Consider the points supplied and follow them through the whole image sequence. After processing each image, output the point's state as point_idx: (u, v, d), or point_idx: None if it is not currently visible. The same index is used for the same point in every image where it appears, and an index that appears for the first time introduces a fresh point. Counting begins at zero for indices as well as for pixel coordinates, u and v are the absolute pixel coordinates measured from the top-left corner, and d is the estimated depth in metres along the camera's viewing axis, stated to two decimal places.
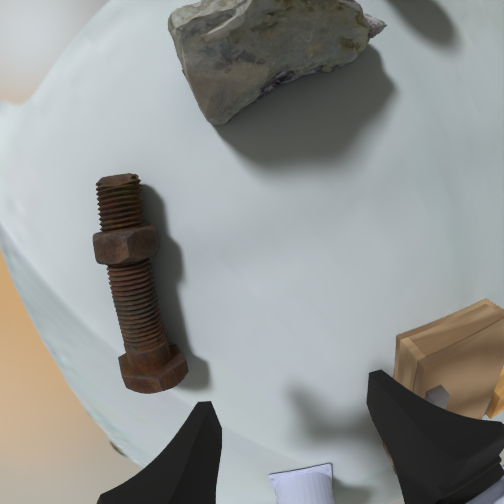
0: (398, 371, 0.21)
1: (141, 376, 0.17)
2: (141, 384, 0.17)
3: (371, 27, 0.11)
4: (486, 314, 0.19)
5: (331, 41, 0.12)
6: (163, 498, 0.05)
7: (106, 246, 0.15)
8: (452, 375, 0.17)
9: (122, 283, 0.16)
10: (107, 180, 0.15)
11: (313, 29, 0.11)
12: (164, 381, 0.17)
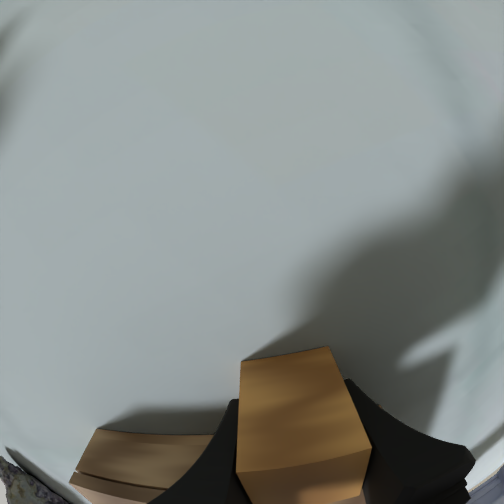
0: None
1: None
2: None
3: (8, 488, 0.12)
4: None
5: (26, 500, 0.13)
6: (217, 501, 0.05)
7: None
8: None
9: None
10: None
11: None
12: None
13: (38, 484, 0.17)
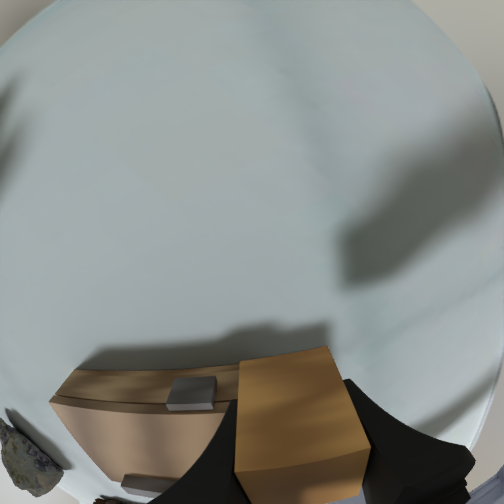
0: None
1: None
2: None
3: (3, 444, 0.19)
4: None
5: (18, 456, 0.20)
6: (217, 501, 0.05)
7: None
8: (115, 467, 0.17)
9: None
10: None
11: (18, 464, 0.19)
12: None
13: (30, 443, 0.24)
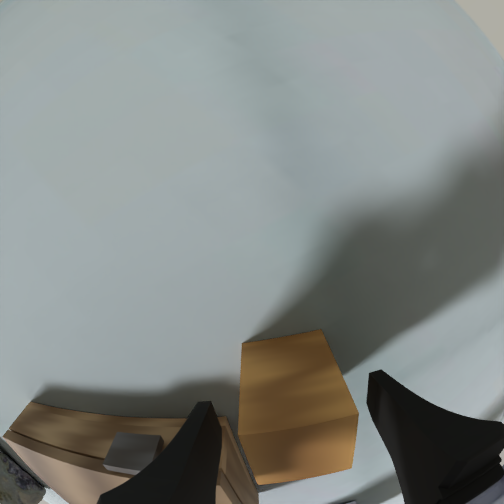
0: None
1: None
2: None
3: None
4: None
5: None
6: (163, 498, 0.05)
7: None
8: (78, 502, 0.12)
9: None
10: None
11: (0, 482, 0.14)
12: None
13: (11, 462, 0.19)
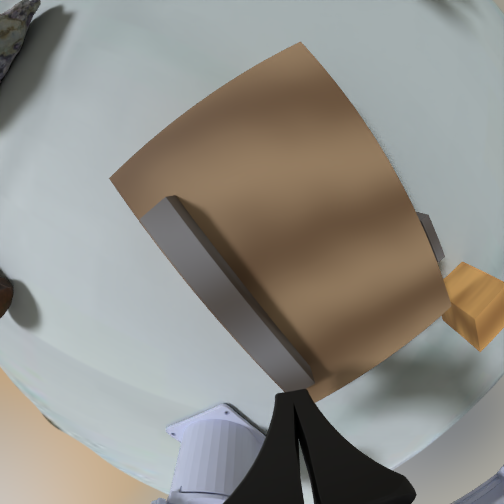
0: None
1: None
2: None
3: (6, 15, 0.08)
4: None
5: None
6: (295, 496, 0.05)
7: None
8: (189, 172, 0.13)
9: None
10: None
11: None
12: None
13: (13, 57, 0.13)
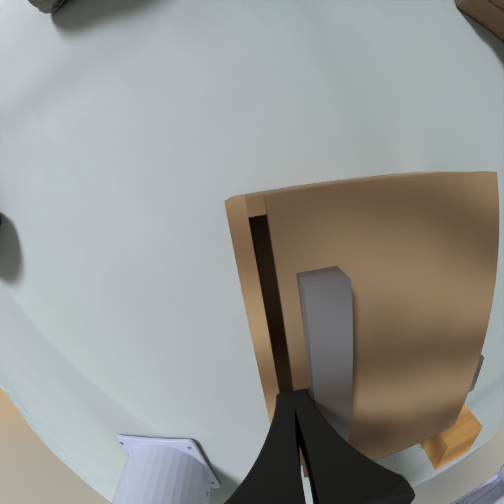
0: None
1: None
2: None
3: None
4: (418, 173, 0.12)
5: None
6: (296, 496, 0.05)
7: None
8: (364, 249, 0.10)
9: None
10: None
11: None
12: None
13: None
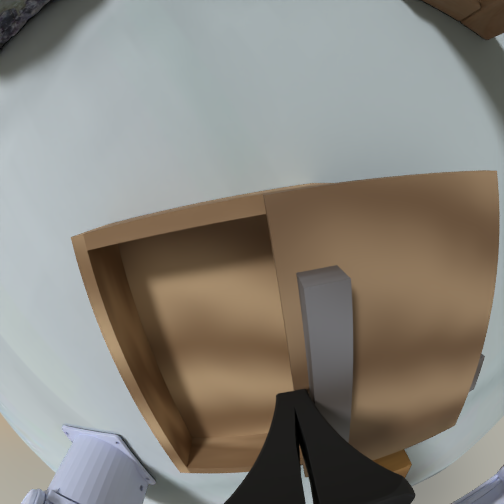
0: None
1: None
2: None
3: None
4: (274, 190, 0.12)
5: None
6: (296, 496, 0.05)
7: None
8: (364, 248, 0.10)
9: None
10: None
11: None
12: None
13: (47, 1, 0.09)
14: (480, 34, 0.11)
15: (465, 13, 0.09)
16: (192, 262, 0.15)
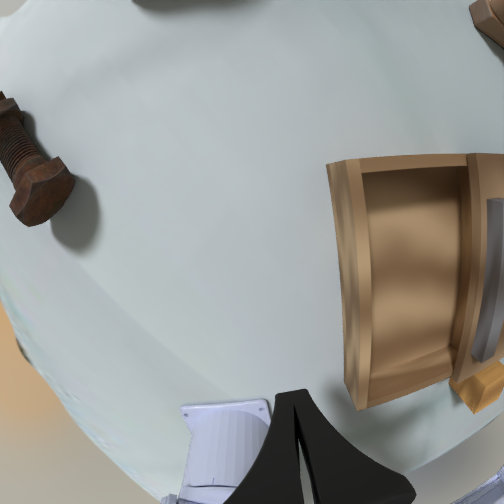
0: (338, 219, 0.18)
1: (18, 188, 0.13)
2: (19, 196, 0.13)
3: None
4: None
5: None
6: (295, 496, 0.05)
7: None
8: None
9: None
10: None
11: None
12: (33, 174, 0.13)
13: None
14: None
15: None
16: (399, 200, 0.17)
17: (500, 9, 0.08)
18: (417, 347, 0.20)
